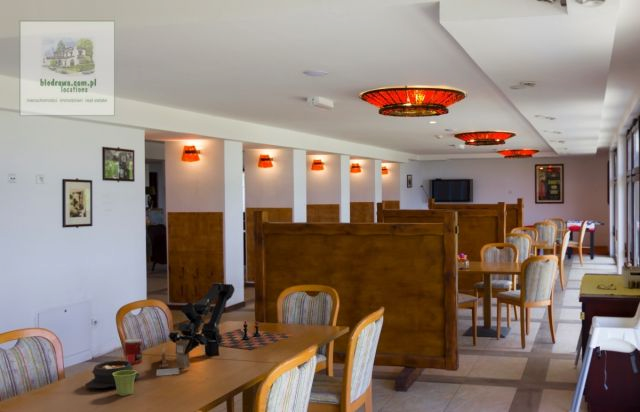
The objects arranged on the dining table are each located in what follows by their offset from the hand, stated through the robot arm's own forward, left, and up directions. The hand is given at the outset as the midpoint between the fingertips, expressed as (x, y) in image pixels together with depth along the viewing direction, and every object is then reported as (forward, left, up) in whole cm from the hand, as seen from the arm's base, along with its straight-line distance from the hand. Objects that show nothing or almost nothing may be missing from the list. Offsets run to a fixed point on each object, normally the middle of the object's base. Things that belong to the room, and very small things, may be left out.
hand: (180, 353), depth 317 cm
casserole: (+29, +18, -7) cm, 35 cm away
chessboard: (-36, -53, -7) cm, 65 cm away
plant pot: (+23, +35, -7) cm, 42 cm away
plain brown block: (-1, -1, -7) cm, 7 cm away
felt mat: (+6, +6, -7) cm, 11 cm away
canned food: (+22, -18, -7) cm, 29 cm away
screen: (+8, -11, -7) cm, 15 cm away
